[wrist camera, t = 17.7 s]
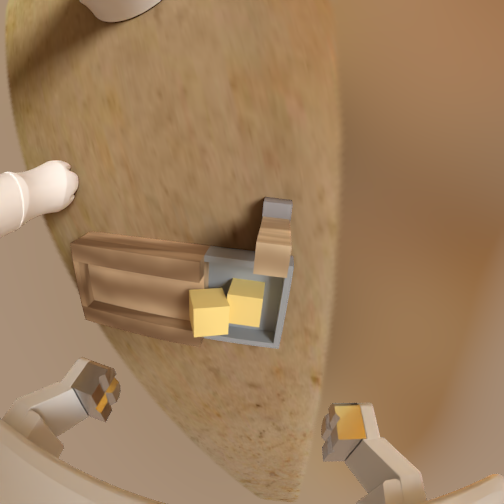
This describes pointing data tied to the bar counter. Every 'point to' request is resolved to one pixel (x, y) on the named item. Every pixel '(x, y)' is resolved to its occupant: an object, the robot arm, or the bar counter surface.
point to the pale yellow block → (208, 312)
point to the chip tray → (274, 300)
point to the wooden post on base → (274, 239)
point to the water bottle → (35, 193)
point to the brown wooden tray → (140, 283)
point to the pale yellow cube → (245, 302)
